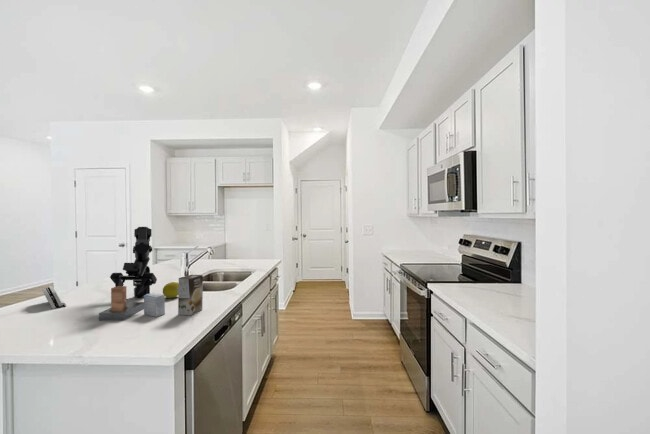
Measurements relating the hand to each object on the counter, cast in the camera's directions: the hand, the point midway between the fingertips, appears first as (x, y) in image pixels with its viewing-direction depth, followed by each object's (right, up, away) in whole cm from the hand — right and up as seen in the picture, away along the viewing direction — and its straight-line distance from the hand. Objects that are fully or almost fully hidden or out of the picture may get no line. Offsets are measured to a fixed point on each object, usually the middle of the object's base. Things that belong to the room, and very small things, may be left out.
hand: (126, 294), depth 141 cm
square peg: (0, -8, -6) cm, 10 cm away
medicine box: (+14, -8, -3) cm, 16 cm away
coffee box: (+28, -8, +1) cm, 29 cm away
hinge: (-41, -8, +10) cm, 43 cm away
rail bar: (0, -8, -3) cm, 8 cm away
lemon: (+8, -8, +25) cm, 28 cm away
